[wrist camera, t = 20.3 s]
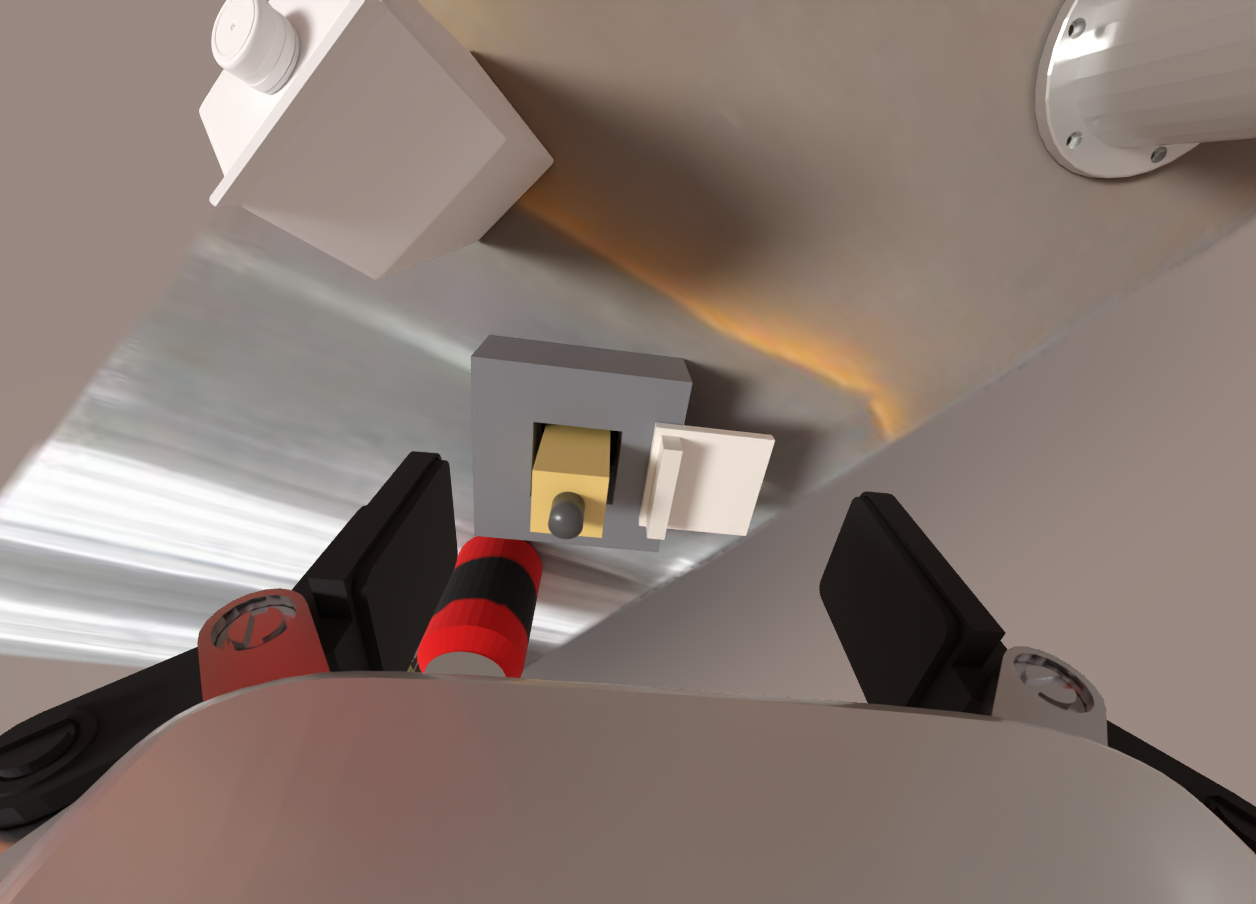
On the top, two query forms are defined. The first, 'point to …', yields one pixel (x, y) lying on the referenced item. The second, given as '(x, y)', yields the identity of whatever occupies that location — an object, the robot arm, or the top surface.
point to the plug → (570, 482)
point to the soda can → (484, 611)
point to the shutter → (703, 479)
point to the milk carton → (363, 130)
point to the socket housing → (574, 396)
